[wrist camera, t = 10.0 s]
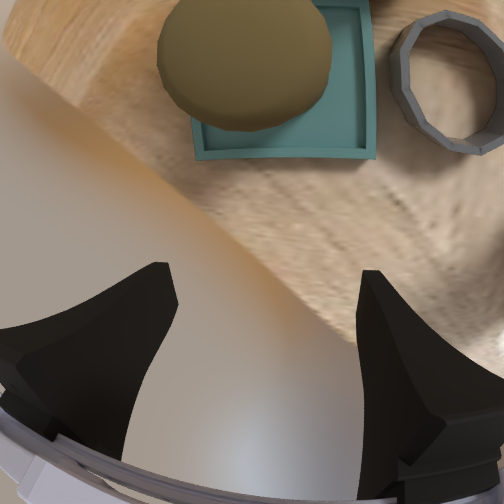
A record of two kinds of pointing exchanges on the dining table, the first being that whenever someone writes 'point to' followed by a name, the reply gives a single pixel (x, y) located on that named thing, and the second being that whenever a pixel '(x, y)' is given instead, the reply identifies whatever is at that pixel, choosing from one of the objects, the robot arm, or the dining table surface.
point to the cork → (244, 61)
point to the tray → (325, 110)
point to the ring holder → (494, 135)
